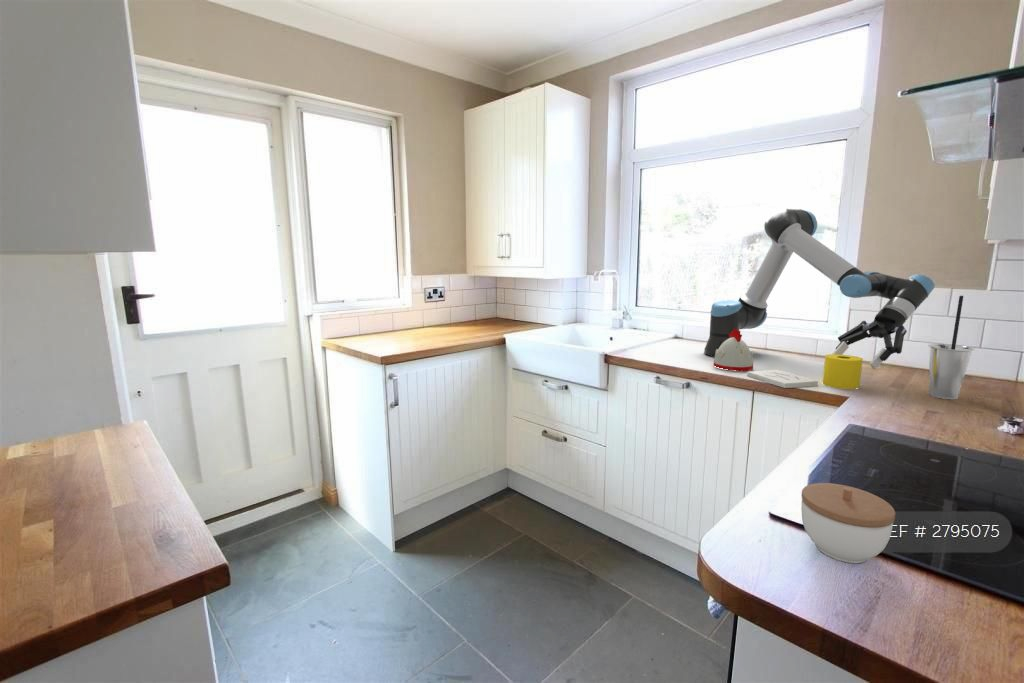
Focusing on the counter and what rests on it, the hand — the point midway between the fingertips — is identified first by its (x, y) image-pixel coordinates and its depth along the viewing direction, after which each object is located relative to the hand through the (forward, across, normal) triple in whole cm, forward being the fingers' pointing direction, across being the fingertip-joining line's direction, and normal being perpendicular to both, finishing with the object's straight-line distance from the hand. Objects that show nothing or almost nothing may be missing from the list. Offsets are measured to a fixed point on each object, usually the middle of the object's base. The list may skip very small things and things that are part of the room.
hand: (852, 362), depth 153 cm
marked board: (+17, +11, +6) cm, 21 cm away
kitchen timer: (+18, +33, +7) cm, 39 cm away
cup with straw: (-5, -17, -17) cm, 24 cm away
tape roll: (+8, +1, -4) cm, 9 cm away
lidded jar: (+64, -71, +53) cm, 110 cm away
